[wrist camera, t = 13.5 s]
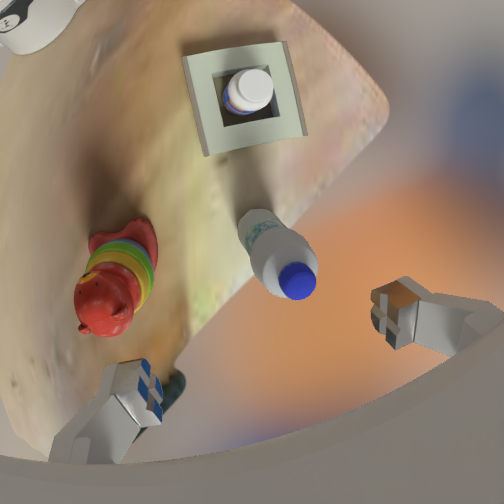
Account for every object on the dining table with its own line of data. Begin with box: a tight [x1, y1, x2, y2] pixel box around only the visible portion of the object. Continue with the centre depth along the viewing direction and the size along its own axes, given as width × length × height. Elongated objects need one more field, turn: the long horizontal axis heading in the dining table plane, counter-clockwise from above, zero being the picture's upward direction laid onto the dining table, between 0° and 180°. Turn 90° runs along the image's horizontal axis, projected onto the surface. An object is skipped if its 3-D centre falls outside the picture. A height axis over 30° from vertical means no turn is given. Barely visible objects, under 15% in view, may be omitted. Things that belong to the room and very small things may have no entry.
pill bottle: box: [222, 69, 274, 116], centre depth 33 cm, size 5×5×10 cm
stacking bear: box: [74, 218, 158, 337], centre depth 34 cm, size 11×10×18 cm
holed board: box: [182, 41, 308, 157], centre depth 35 cm, size 14×14×4 cm
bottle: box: [238, 209, 318, 300], centre depth 35 cm, size 7×7×20 cm
